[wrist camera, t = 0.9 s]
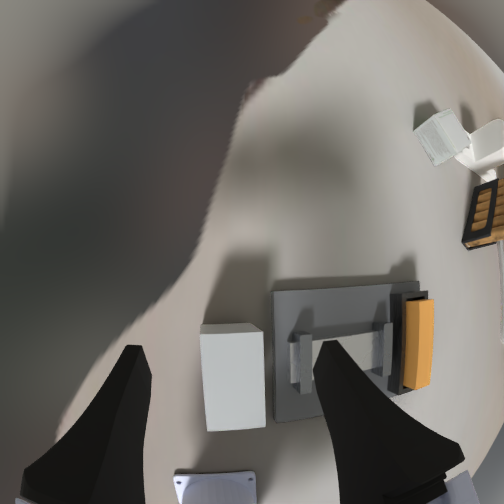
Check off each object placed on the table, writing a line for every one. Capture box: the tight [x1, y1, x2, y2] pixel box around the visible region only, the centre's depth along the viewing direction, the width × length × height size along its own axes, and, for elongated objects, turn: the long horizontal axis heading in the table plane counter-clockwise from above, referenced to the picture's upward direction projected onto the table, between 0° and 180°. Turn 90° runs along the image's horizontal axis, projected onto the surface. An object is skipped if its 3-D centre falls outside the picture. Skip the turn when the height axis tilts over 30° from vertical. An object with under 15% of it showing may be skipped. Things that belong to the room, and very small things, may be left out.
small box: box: [413, 108, 472, 166], centre depth 28 cm, size 6×6×5 cm
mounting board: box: [271, 281, 420, 423], centre depth 24 cm, size 12×16×1 cm
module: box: [200, 323, 266, 431], centre depth 20 cm, size 7×4×6 cm, turn 2°
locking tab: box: [403, 299, 434, 390], centre depth 22 cm, size 8×2×2 cm, turn 2°
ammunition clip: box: [462, 178, 504, 251], centre depth 24 cm, size 11×2×12 cm, turn 145°
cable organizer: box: [455, 119, 504, 182], centre depth 27 cm, size 5×10×10 cm, turn 77°
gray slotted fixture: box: [287, 290, 428, 395], centre depth 23 cm, size 10×14×2 cm
